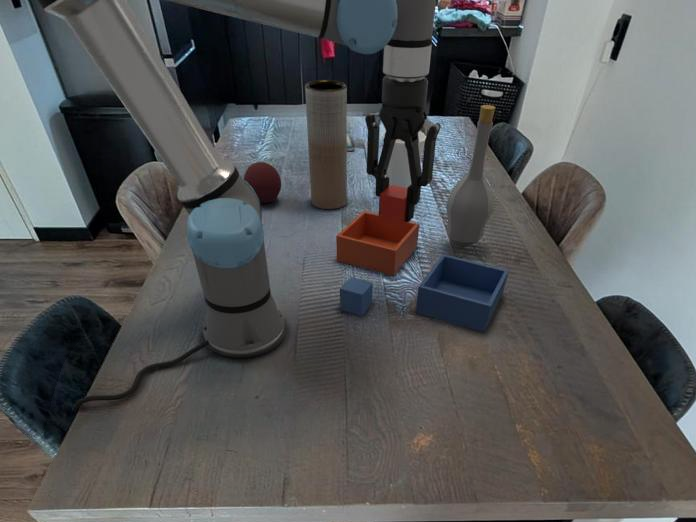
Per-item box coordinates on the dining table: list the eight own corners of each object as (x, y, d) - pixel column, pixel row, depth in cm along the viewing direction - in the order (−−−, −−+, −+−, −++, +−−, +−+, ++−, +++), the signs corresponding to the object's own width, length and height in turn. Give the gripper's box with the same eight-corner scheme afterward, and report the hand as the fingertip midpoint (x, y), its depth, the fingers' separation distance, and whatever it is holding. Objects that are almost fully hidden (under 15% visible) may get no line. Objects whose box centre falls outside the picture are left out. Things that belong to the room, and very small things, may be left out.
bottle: (449, 260, 112) (474, 116, 90) (432, 238, 120) (451, 100, 98) (492, 255, 115) (527, 113, 93) (473, 234, 122) (500, 98, 100)
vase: (353, 200, 134) (354, 83, 114) (334, 213, 128) (331, 92, 108) (324, 192, 137) (320, 77, 117) (304, 204, 132) (296, 85, 111)
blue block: (361, 316, 96) (362, 294, 93) (340, 309, 98) (339, 288, 94) (372, 303, 99) (373, 282, 96) (350, 297, 101) (351, 276, 97)
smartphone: (349, 134, 170) (353, 148, 160) (349, 136, 171) (353, 151, 161) (329, 133, 170) (331, 148, 159) (329, 136, 170) (331, 151, 160)
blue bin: (484, 332, 94) (490, 306, 89) (415, 312, 98) (418, 286, 93) (502, 295, 103) (509, 270, 98) (438, 278, 107) (442, 253, 102)
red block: (402, 225, 92) (404, 199, 89) (379, 219, 94) (380, 193, 90) (412, 215, 95) (414, 189, 92) (389, 209, 97) (391, 184, 93)
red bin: (393, 275, 107) (395, 250, 103) (336, 260, 111) (336, 235, 107) (417, 247, 116) (419, 223, 112) (363, 234, 120) (363, 210, 116)
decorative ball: (273, 211, 128) (268, 172, 121) (240, 205, 130) (233, 167, 123) (288, 197, 135) (285, 159, 127) (257, 191, 137) (252, 154, 129)
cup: (398, 209, 131) (402, 146, 119) (370, 195, 137) (372, 133, 125) (428, 198, 136) (436, 137, 124) (400, 185, 142) (405, 125, 131)
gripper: (465, 78, 77) (445, 218, 94) (366, 64, 82) (364, 199, 99) (449, 88, 72) (431, 234, 89) (346, 73, 78) (347, 213, 95)
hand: (396, 215), depth 94 cm, fingers closed on red block, 5 cm apart
